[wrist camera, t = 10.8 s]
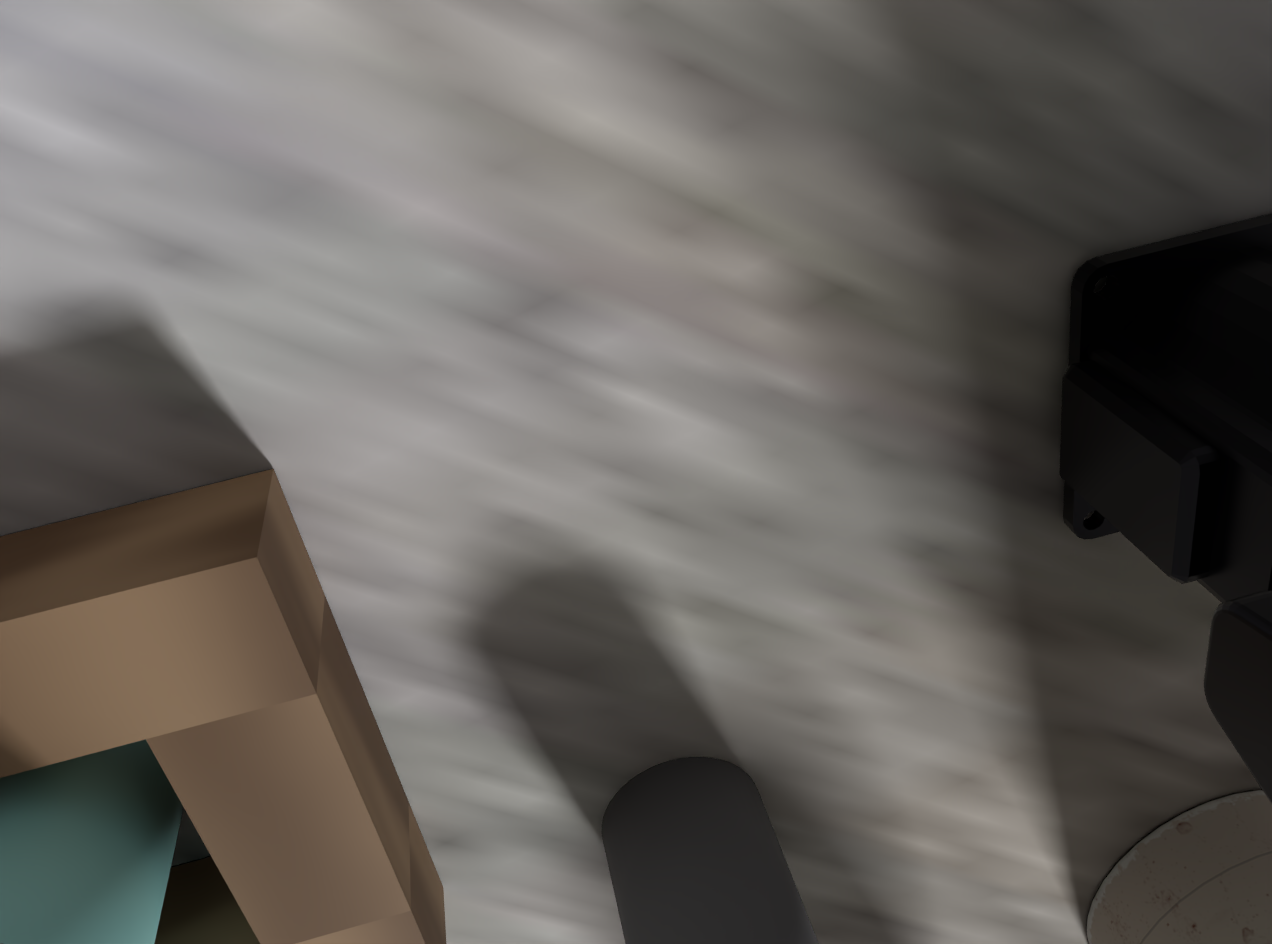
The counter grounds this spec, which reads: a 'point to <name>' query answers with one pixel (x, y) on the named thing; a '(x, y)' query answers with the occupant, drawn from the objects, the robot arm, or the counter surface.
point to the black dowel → (699, 860)
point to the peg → (87, 849)
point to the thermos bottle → (1193, 880)
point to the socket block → (218, 712)
